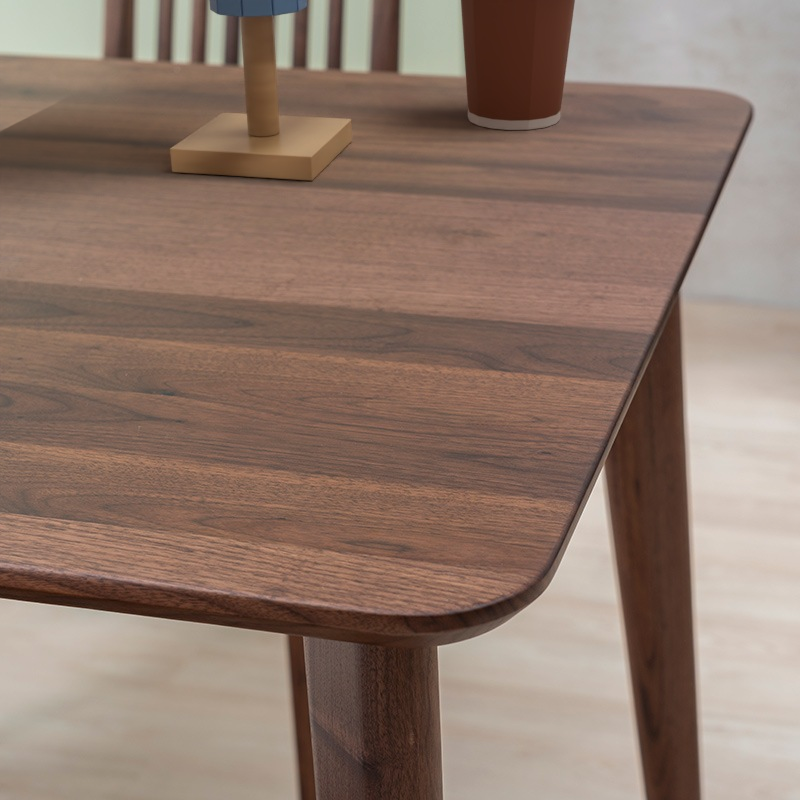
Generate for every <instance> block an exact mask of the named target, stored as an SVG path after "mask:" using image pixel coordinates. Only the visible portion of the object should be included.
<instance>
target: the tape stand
mask: <svg viewBox="0 0 800 800" xmlns="http://www.w3.org/2000/svg"><path fill="white" fill-rule="evenodd" d="M274 17H275V16H273V15H272V16H261V17H239V19H240V33H241V48H242V64H243V79H244V80H243V81H244V95H245V109H246V111H245V112H246V113H237V112H221V113H219V114H218V115H216V116H214V118H212V119H211V120H209V121H208V122H207V123H204V124H203V125H202V126H201V127H199V128H197V130H194V131H193V132H192V133H191V134H189V135H187V136H186V137H184V138H183V139H181V140H180V141H179V142H177V143H176V144H175V145H173V146H172V147H170V148H169V154H170V163H171V172H172V173H180V174H181V173H184V174H195V175H196V174H197V175H213V176H228V177H229V176H230V177H231V176H232V177H245V178H246V177H247V178H260V179H261V178H262V179H276V180H277V179H278V180H279V179H280V180H294V181H311V182H312V181H313V180H315V179H316V178H317V177H318V176H319V175H320V174H321V173H322V172H323V171H324V170H325V168H327V167H328V166H329V164H330V163H332V162H333V160H334V159H336V158H337V157H338V156H339V154H341V153H342V152H343V151H344V149H346V148H347V147H348V146H349V145H350V144H351V142H353V129H352V127H353V126H352V119H351V118H340V117H320V116H319V117H318V116H300V115H299V116H298V115H280V110H279V91H278V78H277V77H278V73H277V59H276V58H277V55H276V54H277V53H276V37H275V36H276V35H275V20H274V19H275V18H274Z"/></svg>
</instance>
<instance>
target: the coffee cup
mask: <svg viewBox="0 0 800 800" xmlns="http://www.w3.org/2000/svg"><path fill="white" fill-rule="evenodd" d="M575 2H576V0H460V7H461V8H460V9H461V22H462V36H463V37H462V39H463V53H464V55H463V56H464V69H465V83H466V84H465V85H466V98H467V100H466V101H467V118H468V121H469V122H470V123H472V124H474V125H476V126H479V127H484V128H488V129H491V130H493V129H494V130H504V131H505V130H506V131H526V130H527V131H528V130H535V129H536V130H537V129H542V128H543V129H544V128H547V127H550V126H553V125H554V126H555V125H556V124H557V123H558V122H559V121H561V110H562V104H563V95H564V87H565V80H566V72H567V64H568V58H569V57H568V56H569V50H570V49H569V48H570V41H571V34H572V33H571V32H572V27H573V26H572V25H573V17H574V12H575V11H574V10H575V4H576V3H575Z"/></svg>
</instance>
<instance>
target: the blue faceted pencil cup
mask: <svg viewBox="0 0 800 800" xmlns="http://www.w3.org/2000/svg"><path fill="white" fill-rule="evenodd" d="M208 2H209V10H210V11H211V12H213V13H215V14H216V15H218V16H226V17H227V16H229V17H238V18H240V17H261V16H272V15H273V17H275V16H282V15H287V14H293V13H299V12H301V11H302V10H304V9H306V8H307V7H308V0H208Z"/></svg>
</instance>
